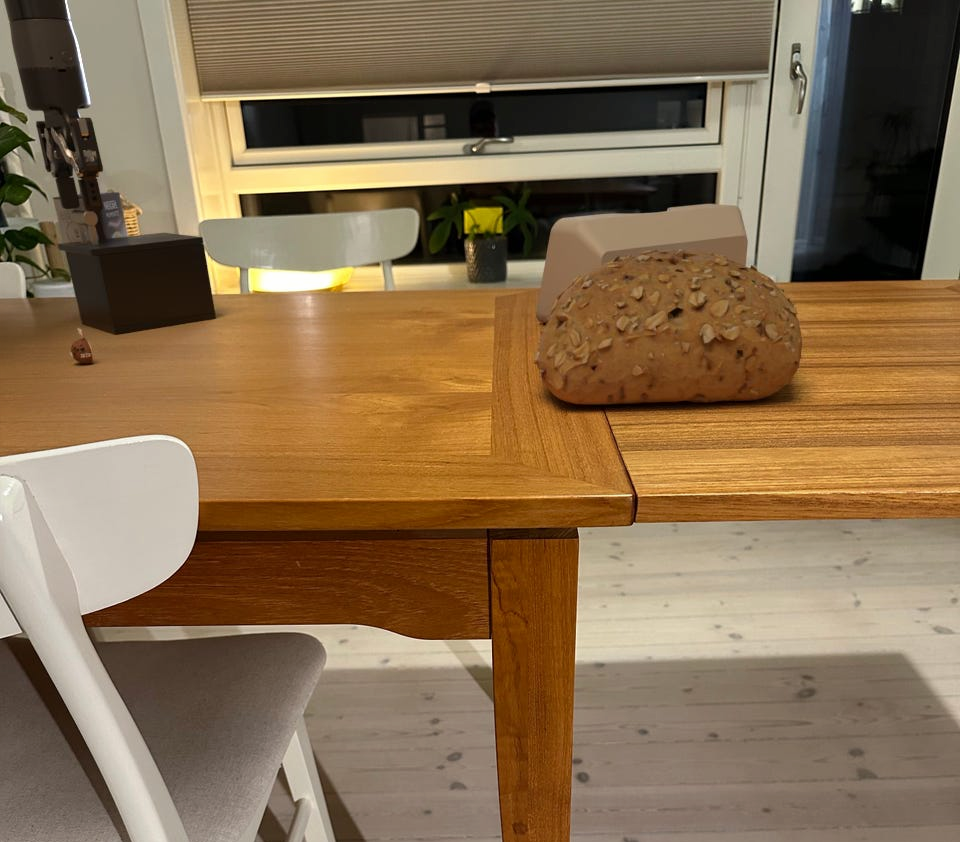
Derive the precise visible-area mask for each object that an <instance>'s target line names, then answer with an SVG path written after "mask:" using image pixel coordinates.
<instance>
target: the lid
mask: <svg viewBox="0 0 960 842" xmlns="http://www.w3.org/2000/svg"><path fill="white" fill-rule="evenodd" d="M71 220H72V221H73V222H74V223H75V224H77V227H78V232H79V236H80V241H79V242H70V243H63V242H61V243H57V249H58V250H59V251H62V252H65V251H68V252H73V253H79V254H84V255H89V256H98V255H107V254H115V253H124V252H133V251H141V250H150V249H159V248H168V247H176V246H185V245H194V244H204V238H203V236H196V235H188V234H179V233H171V232H156V233H155V232H154V233H147V234H137V235H128V236H127V237H117V238H108V239H97V235H96V230H95V225H96V223H97V221H98V218H97V215H96V214H95V213H94V212H89V211H86V210H73V211H72V212H71ZM84 225H87V226H88V230H89V234H90V239H91V240H89V241H87V237H86V232H85V228H84Z"/></svg>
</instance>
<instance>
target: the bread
mask: <svg viewBox="0 0 960 842" xmlns="http://www.w3.org/2000/svg"><path fill="white" fill-rule="evenodd" d="M619 256H620V255H619ZM619 256H618V257H616V258H615V259H613V260H612V261H610V262H609V263H606V264H603V265H600V266H598V267H596V268H595V269H593V270H591V271H589V272H588V273H586V274H585V275H584V276H580V275H578V276H577V277H576V278H575V279H574V280H573V281H572V283H571V284H570V285H569V286H568V287H567V288H566V289H565V290H563V291H562V292H561V293H560V294H559V295H558V296H557V299H558V300H556V301H555V302H554V303H553V306H552V309H551V312H550V314H549V316H548V318H547V321H546V323H545V325H544V328H542V329H541V332H540V333H539V334H540V335H539V339H538V341H539V342H537V349H536V352H535V356H534V358H533V359H534V360H533V362H532V365H536V366H537V369H538V374H539V378H540V379H541V381H542V383H543V385H545V387H546V388H547V389H548V391H549V392H550V393H551V394H552V395H553V396H555V397H556V398H557V399H559V400H560V401H561V400H562V401H564V402H566V403H570V404H574V405H590V406H593V405H596V406H597V405H601V406H602V405H622V404H643V403H679V402H691V403H705V404H707V403H714V402H738V401H739V402H746V401H748V402H749V401H750V402H751V401H758V400H761V399H764V398H767V397H769V396H771V395H774V394H776V393H777V392H780V391H781V390H782V389H783V388H784V387H786V386H787V385H788V384H789V383H790V382H791V381H792V379H793V377H794V376H795V375H796V373H797V371H798V369H799V367H800V363H801V360H803V357H802V349H803V339H802V330H801V326H800V321H799V319H798V316H797V315H798V314H799V313H798V310H797V308H796V307H795V303H793V301H791V297H790V296H788V295H787V293H785V289H783V288H782V287H781V288H780V287H779V286H777V284H776V283H775V281H774V279H772V278H771V277H770V276H768V275H766V274H764V273H762V272H760V271H759V270H758V268H757V266H756V265H752V264H751V265H750V267H748V266H747V265H746V266H743V265H742V264H740V263H736V262H734V260H728V259H727V257H725V256H722V255H721V256H720V255H718V254H716V253H714V252H713V253H712V254H708V253H705V252H701V251H697V250H689V249H685V250H682V249H677V250H675V249H673V250H661V251H657V250H650V251H645V252H642V253H641V254H640V255H639V256H634V257H631V256H632V255H629V256H627V257H620V259H619ZM618 259H619V260H618Z"/></svg>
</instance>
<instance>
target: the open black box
mask: <svg viewBox="0 0 960 842" xmlns="http://www.w3.org/2000/svg"><path fill="white" fill-rule="evenodd" d="M64 252H66V253H65V257H66V256H67V257H66V262H67V261H68V262H67V265H69V266H68V270H69V269H70V270H69V274H71V275H70V279H71V278H72V279H71V283H72V282H73V283H72V287H73V286H74V288H73V291H75V292H74V296H75V295H76V297H75V300H76V299H77V301H76V304H78V305H77V309H78V308H79V310H78V313H79V312H80V314H79V317H80V321H81V324H82V325H84V326H88V327H91V328H94V329H98V330H100V331H103V332H106V333H109V334H112V335H122V334H129V333H135V332H140V331H146V330H147V331H148V330H154V329H158V328H165V327H171V326H177V325H178V326H179V325H183V324H189V323H196V322H202V321H209V320H214V319H217V315H216V310H215V304H214V297H213V292H212V286H211V280H210V279H211V278H210V273H209V267H208V262H207V261H208V260H207V255H206V250H205V244H204V243H202V244H194V245H185V246H176V247H168V248H159V249H150V250H141V251H133V252H124V253H115V254H107V255H98V256H89V255H84V254H79V253H73V252H68V251H64Z"/></svg>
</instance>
